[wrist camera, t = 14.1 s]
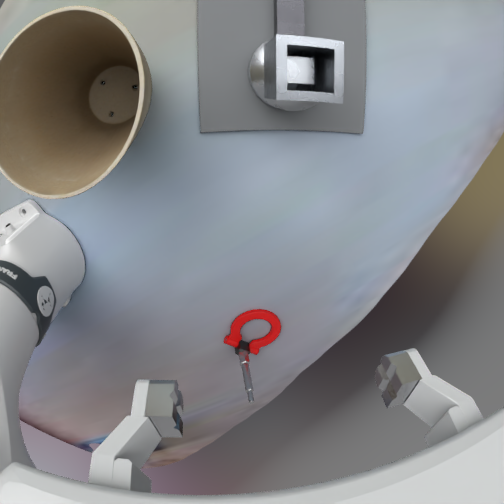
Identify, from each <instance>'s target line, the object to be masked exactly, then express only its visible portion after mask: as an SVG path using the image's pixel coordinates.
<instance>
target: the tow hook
mask: <svg viewBox="0 0 504 504" xmlns="http://www.w3.org/2000/svg"><path fill="white" fill-rule="evenodd" d="M253 319H264V320H266V321H268V322H269V323H270V324H271V325H272V327H271V331H270V332H269V334H268V335H266V336H265V337H263V338H261V339H257V340H252V341H251V342H250V344H249V343H247V342H244V341H242V340H241V339H242V335H241V334H240V329H241V327H242V326H243V324H245V323H246V322H248V321H250V320H253ZM280 331H281V324H280V321H279V319H278V317H277V316H276V315H275V314H274V313H272V312H270V311H267V310H262V309H257V310H251V311H247V312H245V313H243V314H241V315H239V316H238V317H237V318H236V319H235V320H234V321H233V323H232V325H231V334H230V335H229V336H226V337H225V338H224V343H225V344H228V345H231V346H233V347H235V353H236V354H237V355H239V360H240V366H242V371H243V378H244V384H245V390H246V393H247V394H248V400H249V403H250V404H252V403H254V398H253V393H252V392H253V385H252V380H251V374H250V369H249V357H248V355H249V353H253V354H258V352H259V349H260V348H261V347H263V346H266V345H268V344H270V343H271V342H273V341H274V340H275V339H276V338H277V337H278V335H279V333H280Z"/></svg>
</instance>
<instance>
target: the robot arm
mask: <svg viewBox="0 0 504 504" xmlns="http://www.w3.org/2000/svg"><path fill="white" fill-rule="evenodd" d="M24 209H25V210H26V212H25V211H24ZM84 274H85V260H84V256H83V252H82V250H81V247H80V245H79V243H78V241H77V240H76V238H75V237H74V235H73V234H72V233H71V232H70V230H69V229H68V228H67V227H66V226H65V225H63V224H62V223H61V222H59V221H58V220H56V219H55V218H53V217H51V216H49V215H48V214H46V213H45V212H44V211H43V210H42V209H41V208H40V206H39V205H38V204H37V203H36V202H35V201H33V200H31V199H29V200H27V201H25V202H23V203H21V204H19V205H17V206H15V207H13V208H11V209H9V210H7V211H5V212H4V213H2V214H0V504H504V406H503V407H502V408H500V409H499V410H497V411H496V412H494V413H492V414H491V415H489V416H488V417H486V418H483V417H482V415H481V413H480V411H479V409H478V407H477V406H476V404H475V402H474V400H473V399H472V397H470V396H469V395H467V394H465V393H464V392H462V391H460V390H459V389H457V388H455V387H454V386H452V385H450V384H449V383H447V382H445V381H444V380H442V379H440V378H439V377H437V376H435V375H433V376H432V375H431V373H430V371H429V370H428V368H427V366H426V364H425V363H424V361H423V359H422V358H421V356H420V354H419V353H418V351H417V350H416V349H414V348H412V349H409V350H405V351H400V352H396V353H393V354H388V355H385V356H383V357H382V359H381V363H382V364H381V365H380V366H379V367H378V368H377V370H376V372H375V381H376V384H377V387H378V388H379V389H380V390H382V391H383V394H382V398H383V400H384V402H385V405H386V407H387V408H390V407H394V406H397V405H400V404H404V405H405V406H406V407H407V408H408V409H410V410H411V411H412V412H413V413H414V414H415V415H417V416H418V417H419V418H420V419H422V420H423V421H424V422H425V423H426V424H428V425H429V426H430V427H431V429H430V430H429V431H428V432H427V433H426V434H425V437H424V438H425V440H426V443H427V445H428V448H426V449H424V450H422V451H419V452H417V453H414V454H412V455H410V456H407V457H404V458H402V459H400V460H397V461H394V462H391V463H388V464H385V465H382V466H379V467H377V468H374V469H370V470H367V471H364V472H361V473H357V474H353V475H350V476H346V477H343V478H338V479H334V480H330V481H326V482H321V483H316V484H311V485H306V486H301V487H295V488H289V489H282V490H275V491H268V492H258V493H246V494H231V495H173V494H158V493H151V479H150V478H149V477H147V476H146V475H145V474H144V473H143V472H142V471H141V470H140V469H141V468H142V466H143V465H144V463H145V462H146V461H147V459H148V458H149V456H150V455H151V453H152V452H153V450H154V449H155V448H156V446H157V445H158V443H159V442H160V440H161V439H162V438H161V437H183V422H182V419H181V417H180V416H181V415H182V414H183V398H182V394H181V391H179V390H178V383H177V380H137V382H136V385H135V391H134V397H133V404H132V410H131V416H126V417H125V419H124V420H123V421H122V422H121V423H120V424H119V425H118V426H117V427H116V428H115V429H114V431H113V432H112V433H111V434H110V435H109V436H108V437H107V438H106V439H105V440H104V441H103V443H102V444H101V445H100V446H99V447H98V448H97V449H96V450H95V451H94V452H93V454H92V460H91V466H90V474H89V481H88V483H86V482H81V481H77V480H73V479H69V478H65V477H62V476H58V475H55V474H52V473H48V472H45V471H42V470H39V469H37V468H36V467H35V465H34V463H33V462H32V460H31V458H30V456H29V454H28V451H27V449H26V446H25V444H24V440H23V436H22V432H21V427H20V420H19V393H20V387H21V383H22V380H23V377H24V374H25V371H26V368H27V365H28V363H29V360H30V358H31V355H32V353H33V351H34V348H35V347H36V346H38V345H39V344H40V343H41V341H42V339H43V338H44V337H45V335H46V332H47V330H48V328H49V326H50V324H51V322H52V321H53V319H54V318H55V317H56V315H57V314H58V312H59V311H60V309H61V308H62V307H65V306H67V304H68V303H69V301H70V299H71V294H72V292H73V291H74V290H75V289H76V288H77V287H78V286H79V285H80V284H81V282H82V280H83V278H84Z"/></svg>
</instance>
